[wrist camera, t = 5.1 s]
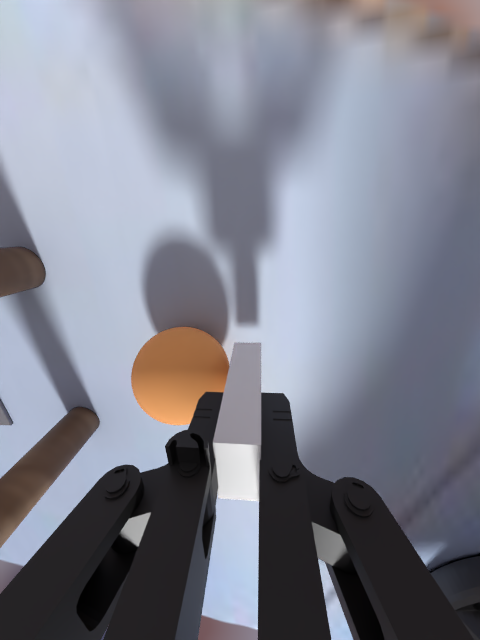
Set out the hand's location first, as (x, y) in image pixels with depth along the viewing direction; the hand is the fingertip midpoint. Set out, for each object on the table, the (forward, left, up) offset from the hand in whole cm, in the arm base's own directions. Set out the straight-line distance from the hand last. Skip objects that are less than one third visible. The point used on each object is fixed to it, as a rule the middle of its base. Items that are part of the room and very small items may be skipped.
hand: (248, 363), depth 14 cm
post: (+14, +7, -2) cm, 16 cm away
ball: (+4, 0, 0) cm, 4 cm away
